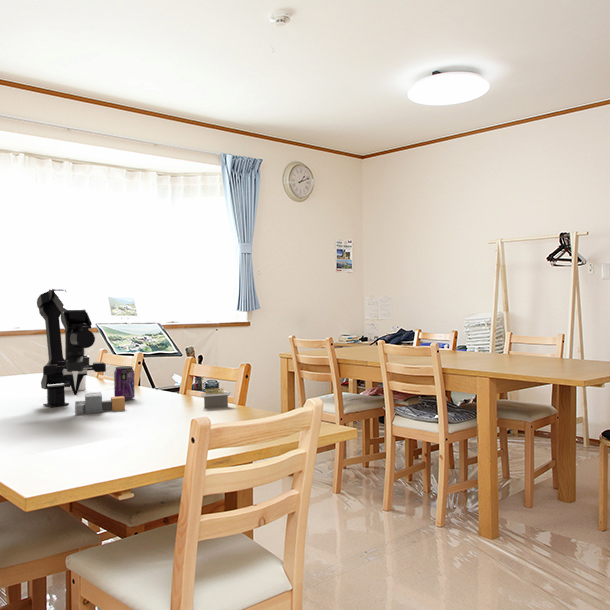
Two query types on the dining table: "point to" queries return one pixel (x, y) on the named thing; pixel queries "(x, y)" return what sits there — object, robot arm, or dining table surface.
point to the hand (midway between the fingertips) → (75, 395)
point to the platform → (215, 398)
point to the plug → (113, 404)
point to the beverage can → (124, 382)
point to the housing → (89, 404)
